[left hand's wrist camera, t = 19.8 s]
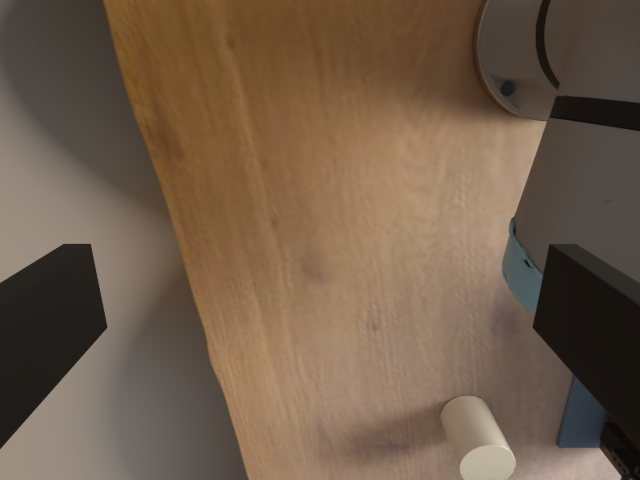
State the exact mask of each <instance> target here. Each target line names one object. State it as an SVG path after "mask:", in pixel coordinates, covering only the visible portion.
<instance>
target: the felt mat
mask: <svg viewBox="0 0 640 480" xmlns="http://www.w3.org/2000/svg"><path fill="white" fill-rule="evenodd" d="M608 415H609V414H608V412H607V411H606V410H605V409H604V408H603V407H602V406H601V405H600V403H599V402H598V401H597V400H596V399H595V398H594V397H593V395H592V394H591V393H590V392H589V391H588V390H587V389H586V388H585V386H584V385H583V384H582V383H581V382H580V381H579V380H578V378H577V377H576V376H575V375H574V377H573V381H572V385H571V389H570V393H569V397H568V401H567V405H566V409H565V413H564V417H563V421H562V425H561V429H560V432H559V436H558V440H557V446H558V447H559V448H599V445H600V442H601V440H600V437H601V433H602V430H603V427H604V423H606V422H607V418H608Z"/></svg>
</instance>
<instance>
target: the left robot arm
mask: <svg viewBox="0 0 640 480" xmlns="http://www.w3.org/2000/svg"><path fill="white" fill-rule="evenodd" d="M473 58H474V64H475V69H476V72H477V75H478V78H479V80H480V82H481V84H482V86H483V88H484V90H485V91H486V92H487V94H488V95H489V96H490V98H491V99H492V100H493V101H494V102H495V103H496V104H498V105H499V106H500V107H501V108H503V109H504V110H506V111H508V112H510V113H511V114H514V115H516V116H519V117H523V118H528V119H534V120H541V121H547V123H546V126H545V129H544V132H543V135H542V138H541V141H540V144H539V147H538V150H537V153H536V156H535V159H534V162H533V164H532V167H531V170H530V173H529V176H528V179H527V182H526V185H525V188H524V190H523V193H522V196H521V199H520V202H519V205H518V208H517V211H516V214H515V216H514V217H513V218H512V219H511V221H510V225H509V233H510V235H509V239H508V242H507V246H506V250H505V253H504V257H503V261H502V272H503V276H504V279H505V281H506V283H507V284H508V287H509V289H510V291H511V293H512V294H513V295H514V296H515V298H516V299H517V300H518V301H519V302H520V303H521V304H522V305H523V306H524V307H525V308H526V309H527V310H528V311H529V312H530V313H532V314H533V315H534V316H535V318H534V323H533V329H534V330H535V331H536V332H537V333H538V334H539V335H540V336H541V338H542V339H543V340H544V341H545V342H546V343H547V344H548V346H549V347H550V348H551V349H552V350H553V351H554V352H555V354H556V355H557V356H558V357H559V358H560V359H561V360H562V361H563V363H564V364H565V365H566V366H567V367H568V368H569V369H570V371H571V372H572V373H573V374H574V375H575V376H576V377H577V378H578V380H579V381H580V382H581V383H582V384H583V385H584V386H585V388H586V389H587V390H588V391H589V392H590V393H591V394H592V395H593V397H594V398H595V399H596V400H597V401H598V402H599V403H600V405H601V406H602V407H603V408H604V409H605V410H606V411H607V412H608V414H609V415H610V416H611V417H612V418H613V419H614V420H615V422H616V423H617V424H618V425H619V426H620V427H621V428H622V429H623V431H624V432H625V433H626V434H627V435H628V436H629V437H630V439H631V440H632V441H633V442H634V443H635V444H636V445H637V446H638V448H639V449H640V0H483V3H482V5H481V7H480V10H479V13H478V16H477V19H476V23H475V28H474V34H473ZM106 329H107V323H106V318H105V313H104V308H103V303H102V298H101V293H100V288H99V283H98V278H97V273H96V268H95V263H94V259H93V253H92V248H91V244H63V245H61V246H60V247H58V248H56V249H55V250H53V251H52V252H50V253H48V254H47V255H45V256H43V257H42V258H40V259H39V260H37V261H35V262H34V263H32V264H30V265H29V266H27V267H26V268H24V269H22V270H21V271H19V272H17V273H16V274H14V275H12V276H11V277H9V278H8V279H6V280H4V281H3V282H1V283H0V449H1V448H2V446H3V445H4V444H5V443H6V442H7V441H8V440H9V438H10V437H11V436H12V435H13V434H14V433H15V432H16V431H17V429H18V428H19V427H20V426H21V425H22V424H23V423H24V422H25V420H26V419H27V418H28V417H29V416H30V415H31V414H32V412H33V411H34V410H35V409H36V408H37V407H38V406H39V404H40V403H41V402H42V401H43V400H44V399H45V398H46V397H47V395H48V394H49V393H50V392H51V391H52V390H53V389H54V387H55V386H56V385H57V384H58V383H59V382H60V381H61V380H62V378H63V377H64V376H65V375H66V374H67V373H68V372H69V370H70V369H71V368H72V367H73V366H74V365H75V364H76V362H77V361H78V360H79V359H80V358H81V357H82V356H83V355H84V353H85V352H86V351H87V350H88V349H89V348H90V347H91V346H92V344H93V343H94V342H95V341H96V340H97V339H98V338H99V336H100V335H101V334H102V333H103V332H104V331H105V330H106Z"/></svg>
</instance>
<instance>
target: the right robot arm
mask: <svg viewBox="0 0 640 480" xmlns="http://www.w3.org/2000/svg"><path fill="white" fill-rule="evenodd" d="M600 440H601V442H602V443H603V444H604V445H605V447H606V448H607V449H608V451H609V452H610V453H611V454H612V455H611V461H612V462H613V464H614V465H615V466H616V467H617V469H618V470H619V471H620V473H621V474H622V477H621V480H640V456H639V455H638V454H637V453H636V452H635V451H634V449H633V448H632V447H631V446H630V445H629V444H628V442H627V441H626V440H625V439H624V438H623V437H622V435H621V434H620V433H619V432H618V431H617V430H616V428H615V427H614V426H613V425H612V424H611V423H604V427H603V430H602V433H601V437H600Z"/></svg>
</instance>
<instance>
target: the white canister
mask: <svg viewBox="0 0 640 480" xmlns="http://www.w3.org/2000/svg"><path fill="white" fill-rule="evenodd" d="M440 419H441V423H442V426H443V429H444V431H445V434H446V437H447V440H448V442H449V445H450V448H451V451H452V453H453V456H454V459H455V462H456V465H457V467H458V470H459V473H460V475H461V477H462V478H463V479H464V480H507V479H508V478H509V477H510V476H511V475H512V473H513V472H514V469H515V466H516V460H515V457H514V455H513V453H512V451H511V449H510V447H509V445H508V443H507V441H506V439H505V438H504V436H503V434H502V432H501V430H500V428H499V426H498V424H497V422H496V420H495V419H494V417H493V415H492V413H491V411H490V409H489V407H488V405H487V404H486V403H485V402H484V401H483V400H482V399H480V398H478V397H475V396H469V395H466V396H460V397H457V398H454V399H452V400H451V401H449V402H448V403H447V404H446V405H445V406H444V407H443V409H442V411H441V415H440Z"/></svg>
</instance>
